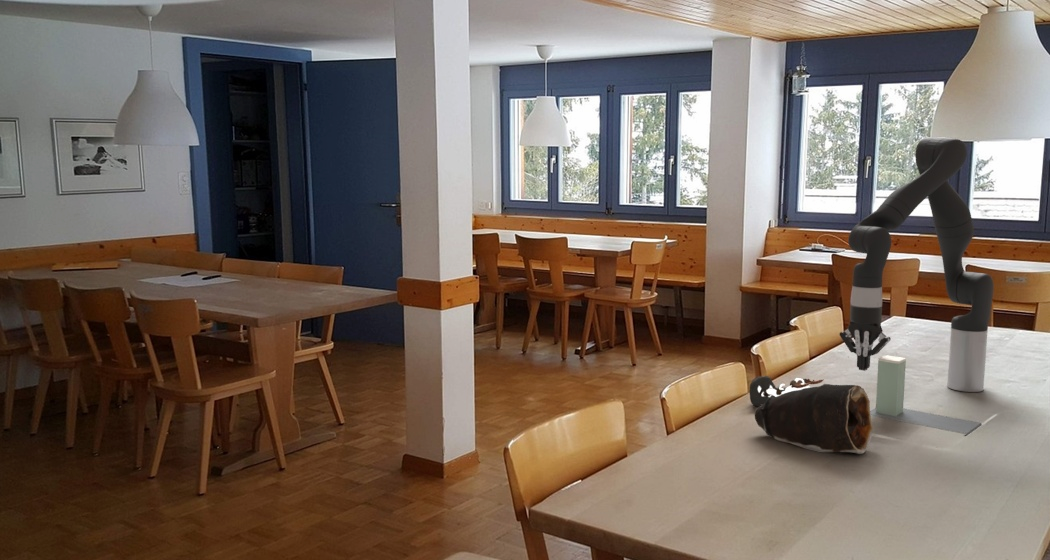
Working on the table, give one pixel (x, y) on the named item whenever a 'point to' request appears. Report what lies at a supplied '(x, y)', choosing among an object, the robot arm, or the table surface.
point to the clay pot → (819, 418)
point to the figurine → (774, 388)
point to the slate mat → (932, 420)
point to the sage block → (890, 385)
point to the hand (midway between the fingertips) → (862, 369)
